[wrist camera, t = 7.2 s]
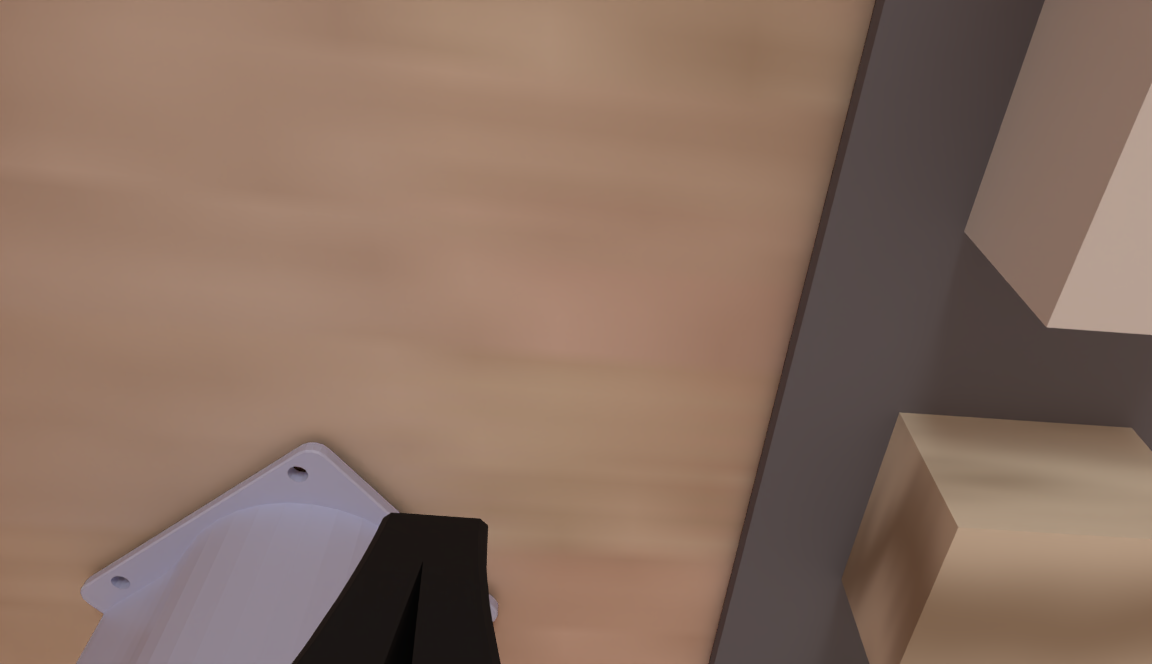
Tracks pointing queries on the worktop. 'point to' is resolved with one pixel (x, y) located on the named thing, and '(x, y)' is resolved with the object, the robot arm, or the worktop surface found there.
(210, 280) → the worktop surface
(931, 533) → the plain block
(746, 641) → the tap mat
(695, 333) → the worktop surface
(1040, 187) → the numeral block one
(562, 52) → the worktop surface
